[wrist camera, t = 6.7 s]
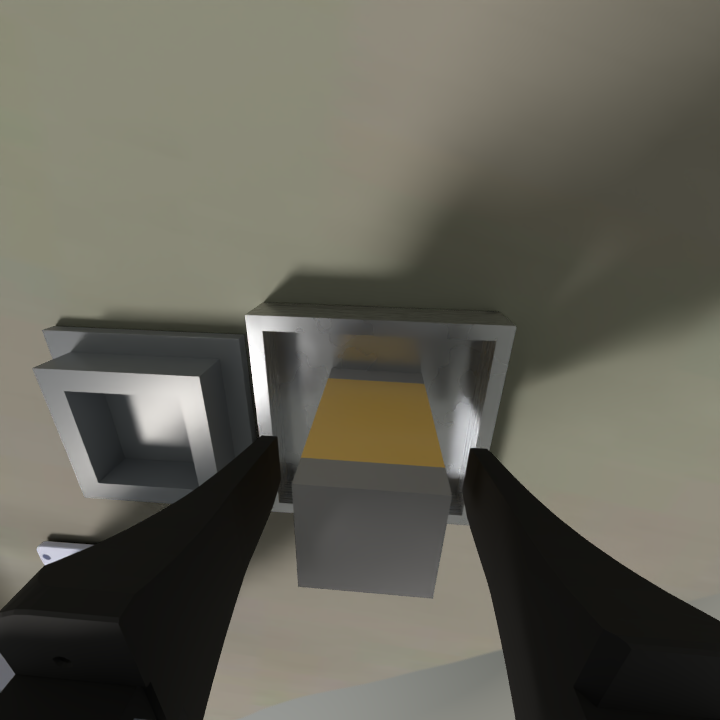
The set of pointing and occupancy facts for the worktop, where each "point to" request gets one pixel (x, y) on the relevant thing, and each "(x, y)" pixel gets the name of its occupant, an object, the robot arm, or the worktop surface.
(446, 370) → the parts tray
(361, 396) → the block
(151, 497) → the socket block
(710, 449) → the worktop surface
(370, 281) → the worktop surface
